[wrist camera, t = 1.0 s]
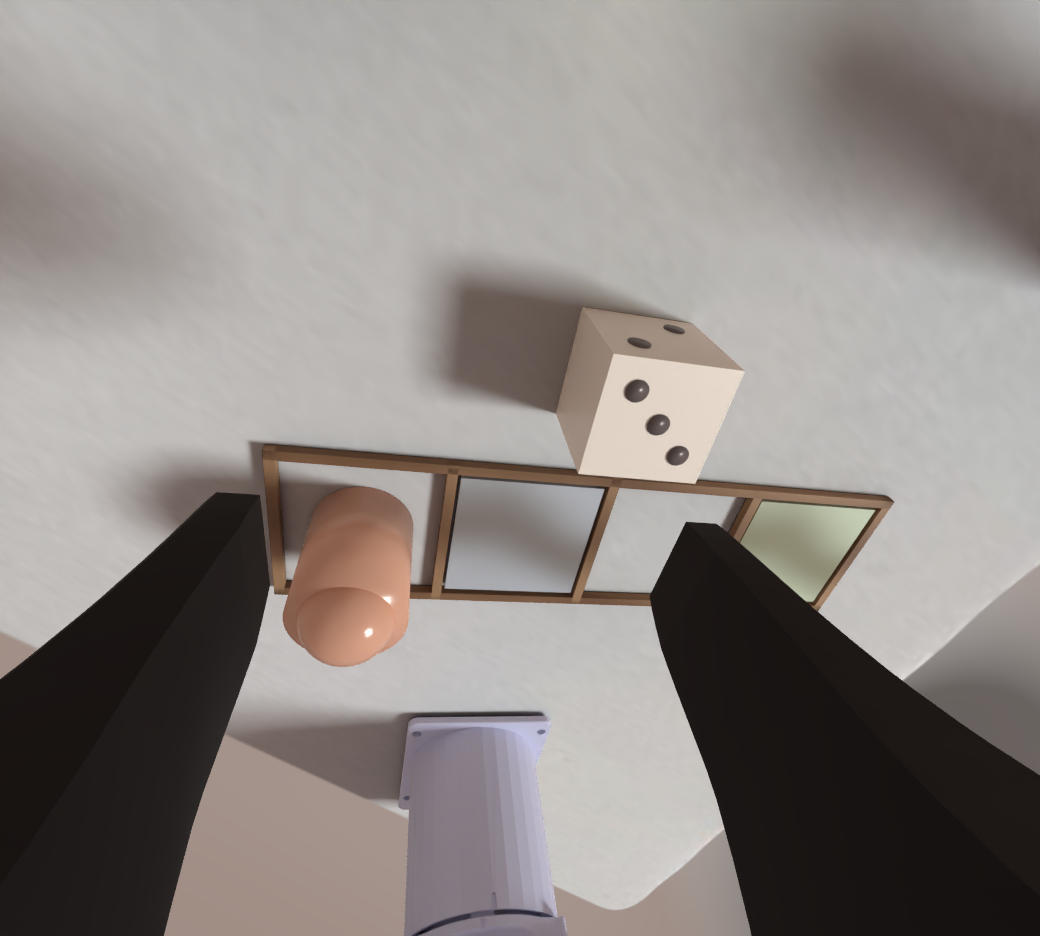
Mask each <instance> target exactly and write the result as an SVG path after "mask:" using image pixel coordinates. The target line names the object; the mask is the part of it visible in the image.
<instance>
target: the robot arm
mask: <svg viewBox="0 0 1040 936" xmlns="http://www.w3.org/2000/svg"><path fill="white" fill-rule="evenodd" d="M269 587H270V581H269V572H268V563H267V555H266V546H265V537H264V528H263V519H262V510H261V501H260V495H251V494H235V493H219V492H217V493H215V494H214V495H213V496H211V497H210V498H209V499H208V500H207V501H206V502H205V503H203V504H202V505H201V506H200V507H199V508H198V509H197V510H196V511H195V512H194V513H193V514H192V515H191V516H190V517H189V518H188V519H187V520H186V521H185V522H184V523H183V524H181V525H180V526H179V527H178V528H177V529H176V530H175V531H174V532H173V533H172V534H171V535H170V536H169V537H168V538H167V539H166V540H165V541H163V542H162V543H161V544H160V545H159V546H158V547H157V548H156V549H155V550H154V551H153V552H152V553H151V554H149V555H148V556H147V557H146V558H145V559H144V560H143V561H142V562H141V563H140V564H138V565H137V566H136V567H135V568H134V569H133V570H132V571H131V572H129V573H128V574H127V575H126V576H125V577H124V578H123V579H121V580H120V581H119V582H118V583H117V584H116V585H115V586H114V587H112V588H111V589H110V590H109V591H108V592H107V593H106V594H105V595H103V596H102V597H101V598H100V599H99V600H98V601H97V602H95V603H94V604H93V605H92V606H91V607H89V608H88V609H87V610H86V611H85V612H83V613H82V614H81V615H80V616H79V617H77V618H76V619H75V620H74V621H72V622H71V623H70V624H69V625H68V626H66V627H65V628H64V629H63V630H61V631H60V632H59V633H58V634H56V635H55V636H54V637H53V638H52V639H50V640H49V641H48V642H47V643H45V644H44V645H43V646H42V647H41V648H39V649H38V650H37V651H36V652H34V653H33V654H32V655H31V656H29V658H27V659H26V660H24V661H23V662H22V663H21V664H19V665H18V666H17V667H16V668H14V669H13V670H12V671H10V672H9V673H8V674H6V675H5V676H4V677H3V678H1V679H0V936H164V933H165V929H166V925H167V920H168V917H169V913H170V908H171V905H172V901H173V897H174V893H175V890H176V886H177V882H178V878H179V874H180V871H181V866H182V863H183V859H184V856H185V852H186V848H187V844H188V840H189V837H190V833H191V829H192V826H193V822H194V819H195V816H196V813H197V810H198V807H199V803H200V800H201V797H202V794H203V791H204V788H205V785H206V783H207V780H208V777H209V775H210V772H211V769H212V766H213V764H214V761H215V758H216V755H217V752H218V750H219V747H220V744H221V741H222V739H223V736H224V733H225V731H226V728H227V725H228V722H229V720H230V717H231V714H232V711H233V709H234V706H235V703H236V700H237V698H238V695H239V692H240V689H241V686H242V684H243V681H244V678H245V675H246V672H247V670H248V667H249V664H250V661H251V658H252V655H253V653H254V650H255V647H256V643H257V639H258V635H259V631H260V627H261V623H262V618H263V614H264V610H265V605H266V600H267V596H268V591H269ZM650 602H651V607H652V612H653V616H654V621H655V626H656V630H657V633H658V637H659V641H660V645H661V649H662V652H663V655H664V658H665V661H666V663H667V666H668V669H669V671H670V674H671V677H672V680H673V682H674V685H675V688H676V690H677V693H678V696H679V698H680V701H681V704H682V706H683V709H684V711H685V714H686V717H687V719H688V722H689V725H690V727H691V730H692V733H693V735H694V738H695V740H696V743H697V746H698V748H699V751H700V754H701V756H702V759H703V762H704V764H705V767H706V769H707V772H708V775H709V778H710V781H711V784H712V787H713V790H714V793H715V796H716V799H717V803H718V806H719V810H720V814H721V817H722V821H723V825H724V828H725V832H726V835H727V839H728V843H729V846H730V850H731V854H732V857H733V861H734V865H735V869H736V873H737V877H738V881H739V885H740V889H741V893H742V897H743V901H744V905H745V910H746V914H747V918H748V921H749V925H750V930H751V935H752V936H1040V775H1038V774H1036V773H1035V772H1034V771H1032V770H1031V769H1029V768H1027V767H1026V766H1024V765H1022V764H1021V763H1020V762H1018V761H1017V760H1015V759H1013V758H1012V757H1010V756H1009V755H1007V754H1006V753H1004V752H1003V751H1001V750H1000V749H998V748H996V747H995V746H993V745H992V744H990V743H989V742H987V741H986V740H984V739H983V738H982V737H980V736H978V735H977V734H976V733H974V732H973V731H971V730H970V729H968V728H967V727H965V726H964V725H962V724H961V723H959V722H958V721H957V720H955V719H954V718H953V717H951V716H950V715H948V714H947V713H946V712H944V711H943V710H942V709H940V708H939V707H937V706H936V705H935V704H933V703H932V702H930V701H929V700H928V699H926V698H925V697H924V696H922V695H921V694H919V693H918V692H917V691H915V690H914V689H912V688H911V687H909V685H907V684H906V683H905V682H903V681H902V680H901V679H899V678H898V677H897V676H895V675H894V674H893V673H891V672H890V671H889V670H888V669H886V668H885V667H884V666H883V665H881V664H880V663H879V662H878V661H876V660H875V659H874V658H873V657H872V656H870V655H869V654H868V653H867V652H865V651H864V650H863V649H862V648H860V647H859V646H858V645H857V644H855V643H854V642H853V641H852V640H850V639H849V638H848V637H847V636H846V635H844V634H843V633H842V632H841V631H840V630H839V629H837V628H836V627H835V626H834V625H833V624H831V623H830V622H829V621H828V620H827V619H826V618H824V617H823V616H822V615H821V614H820V613H819V612H817V611H816V610H815V609H814V608H813V607H812V606H811V605H809V604H808V603H807V602H806V601H805V600H804V599H803V598H801V597H800V596H799V595H798V594H797V593H796V592H795V591H794V590H792V589H791V588H790V587H789V586H788V585H787V584H786V583H785V582H783V581H782V580H781V579H780V578H779V577H778V576H777V575H776V574H774V573H773V572H772V571H771V570H770V569H769V568H768V567H767V566H766V565H764V564H763V563H762V562H761V561H760V560H759V559H758V558H757V557H755V556H754V555H753V554H752V553H751V552H750V551H749V550H747V549H746V548H745V547H744V546H743V545H742V544H741V543H739V542H738V541H737V540H736V539H735V538H733V537H732V536H731V535H730V534H729V533H727V532H726V531H725V530H724V529H722V528H721V527H720V526H719V525H717V524H711V523H695V522H686V523H685V525H684V527H683V529H682V531H681V533H680V535H679V537H678V540H677V542H676V544H675V546H674V548H673V550H672V552H671V554H670V556H669V558H668V560H667V562H666V564H665V566H664V568H663V570H662V572H661V574H660V576H659V578H658V580H657V582H656V584H655V586H654V588H653V590H652V592H651V594H650ZM550 728H551V720H550V718H549V717H547V716H492V717H418V718H413V719H411V720H410V721H409V723H408V729H407V737H406V745H405V753H404V762H403V770H402V778H401V786H400V794H399V803H398V806H399V808H401V809H409V825H408V850H407V852H408V853H407V877H406V902H405V928H404V936H568V935H567V929H566V922H565V918H564V917H563V916H560V917H558V916H557V909H556V902H555V896H554V888H553V882H552V875H551V868H550V861H549V854H548V847H547V841H546V834H545V827H544V820H543V813H542V806H541V800H540V793H539V786H538V779H537V772H536V765H537V763H538V760H539V757H540V755H541V752H542V749H543V747H544V744H545V741H546V739H547V736H548V733H549V731H550Z"/></svg>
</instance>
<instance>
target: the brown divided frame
mask: <svg viewBox="0 0 1040 936" xmlns="http://www.w3.org/2000/svg"><path fill="white" fill-rule="evenodd" d="M262 457H263V468H264V480H265V491H266V503H267V514H268V525H269V537H270V548H271V559H272V571H273V582H274V593H275V594H282V595H288V594H289V591H290V587H291V584H292V581H286V568H285V554H284V540H283V525H282V511H281V497H280V483H279V468H278V461H285V462H298V463H311V464H324V465H336V466H349V467H362V468H374V469H387V470H400V471H413V472H425V473H438V474H447V475H446V483H445V490H444V498H443V505H442V513H441V520H440V528H439V535H438V543H437V550H436V558H435V565H434V573H433V580H432V586H413V585H410V599H440V600H472V601H504V602H535V603H567V604H599V605H630V606H651V602H650V594H633V593H605V592H583V591H584V588H585V585H586V582H587V579H588V576H589V574H590V571H591V568H592V565H593V562H594V559H595V556H596V553H597V551H598V548H599V545H600V542H601V539H602V536H603V533H604V530H605V528H606V525H607V522H608V519H609V516H610V513H611V510H612V507H613V505H614V502H615V499H616V496H617V493H618V490H619V488H629V489H642V490H655V491H667V492H680V493H693V494H706V495H718V496H731V497H744V498H746V500H745V502H744V504H743V506H742V508H741V510H740V512H739V514H738V516H737V518H736V520H735V522H734V524H733V526H732V528H731V530H730V532H729V534H730V535H731V536H732V537H733V538H735V539H736V540H737V541H738V542H739V543H741V544H742V545H743V546H744V547H745V548H746V549H747V550H749V551H750V552H751V553H752V554H753V555H754V556H755V557H757V558H758V559H759V560H760V561H761V562H762V563H763V564H764V565H766V566H767V567H768V568H769V569H770V570H771V571H772V572H773V573H774V574H776V575H777V576H778V577H779V578H780V579H781V580H782V581H783V582H785V583H786V584H787V585H788V586H789V587H790V588H791V589H792V590H794V591H795V592H796V593H797V594H798V595H799V596H800V597H801V598H803V599H804V600H805V601H806V602H807V603H808V604H809V605H811V606H812V607H813V608H814V609H815V610H816V611H819V609H820V608H821V606H822V605H823V603H824V602H825V601H826V599H827V598H828V596H829V595H830V593H831V592H832V590H833V589H834V588H835V586H836V585H837V583H838V582H839V580H840V579H841V578H842V576H843V575H844V573H845V572H846V570H847V569H848V568H849V566H850V565H851V563H852V562H853V560H854V559H855V558H856V556H857V555H858V553H859V552H860V550H861V549H862V548H863V546H864V545H865V543H866V542H867V540H868V539H869V538H870V536H871V535H872V533H873V532H874V530H875V529H876V528H877V526H878V525H879V523H880V522H881V520H882V519H883V518H884V516H885V515H886V513H887V512H888V510H889V509H890V508H891V506H892V505H893V503H894V501H893V500H892V499H891V498H889V497H888V496H876V495H864V494H852V493H840V492H828V491H816V490H805V489H793V488H781V487H769V486H757V485H745V484H733V483H721V482H709V481H696V483H695V484H692V483H680V482H668V481H656V480H644V479H633V478H621V477H609V476H597V475H585V474H578V472H577V470H567V469H555V468H543V467H531V466H519V465H507V464H495V463H483V462H471V461H459V460H448V459H436V458H424V457H412V456H400V455H388V454H376V453H364V452H352V451H341V450H329V449H317V448H305V447H293V446H281V445H269V444H265V445H264V447H263V449H262ZM458 475H461V478H460V484H459V491H458V498H457V504H456V511H455V518H454V524H453V531H452V537H451V544H450V551H449V557H448V564H447V571H446V577H445V587H442V582H443V575H444V568H445V561H446V554H447V548H448V541H449V534H450V527H451V521H452V514H453V507H454V500H455V493H456V487H457V480H458ZM603 486H604V487H605V490H604V487H603ZM603 492H604V493H603ZM602 495H603V496H602ZM601 498H602V499H601ZM600 501H601V502H600ZM589 535H590V536H589ZM588 538H589V539H588ZM587 541H588V542H587ZM586 544H587V545H586ZM585 547H586V548H585ZM584 550H585V551H584ZM583 553H584V554H583ZM582 556H583V557H582ZM581 559H582V560H581ZM580 562H581V563H580ZM579 565H580V566H579ZM578 568H579V569H578ZM577 571H578V572H577ZM576 574H577V575H576ZM575 577H576V578H575ZM574 580H575V581H574ZM573 583H574V584H573ZM572 586H573V587H572ZM571 589H572V590H571Z"/></svg>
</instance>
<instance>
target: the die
mask: <svg viewBox="0 0 1040 936" xmlns="http://www.w3.org/2000/svg"><path fill="white" fill-rule="evenodd" d="M744 372H745V371H744V370H743V369H742V368H741V367H740V366H739V365H738V364H736V363H735V362H734V361H733V360H732V359H731V358H730V357H729V356H728V355H727V354H725V353H724V352H723V351H722V350H721V349H720V348H719V347H718V346H717V345H716V344H714V343H713V342H712V341H711V340H710V339H709V338H708V337H707V336H706V335H705V334H703V333H702V332H701V331H700V330H699V329H698V328H697V327H696V326H695V325H694V324H692V323H685V322H678V321H672V320H665V319H658V318H651V317H645V316H638V315H631V314H625V313H618V312H611V311H605V310H598V309H591V308H585V307H582V311H581V315H580V319H579V323H578V327H577V331H576V335H575V339H574V343H573V347H572V351H571V355H570V359H569V363H568V367H567V371H566V375H565V379H564V383H563V387H562V391H561V395H560V399H559V403H558V407H557V411H556V415H557V417H558V420H559V423H560V426H561V428H562V431H563V434H564V436H565V439H566V442H567V445H568V447H569V450H570V453H571V455H572V458H573V461H574V464H575V466H576V469H577V472H578V474H585V475H597V476H609V477H621V478H633V479H644V480H656V481H668V482H680V483H692V484H695V483H696V481H697V479H698V476H699V474H700V472H701V470H702V467H703V465H704V463H705V461H706V458H707V456H708V454H709V452H710V449H711V447H712V445H713V442H714V440H715V438H716V436H717V433H718V431H719V429H720V427H721V424H722V422H723V420H724V418H725V415H726V413H727V411H728V408H729V406H730V404H731V402H732V399H733V397H734V395H735V393H736V390H737V388H738V386H739V384H740V381H741V379H742V377H743V374H744Z"/></svg>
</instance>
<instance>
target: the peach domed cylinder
mask: <svg viewBox="0 0 1040 936" xmlns="http://www.w3.org/2000/svg"><path fill="white" fill-rule="evenodd" d="M412 544H413V520H412V517H411V514H410V512H409V510H408V509H407V508H406V506H405V505H404V504H403V503H402V502H401V501H400V500H398V499H397V498H396V497H394V496H393V495H391V494H389V493H387V492H385V491H382V490H379V489H375V488H370V487H349V488H344V489H341V490H337V491H335V492H333V493H331V494H329V495H327V496H326V497H325V498H323V499H322V500H321V501H320V502H319V503H318V504H317V506H316V507H315V509H314V511H313V513H312V516H311V520H310V523H309V526H308V530H307V533H306V537H305V540H304V543H303V547H302V550H301V553H300V557H299V560H298V564H297V567H296V570H295V574H294V577H293V580H292V584H291V587H290V591H289V594H288V597H287V601H286V604H285V607H284V611H283V623H284V627H285V629H286V631H287V633H288V634H289V636H290V637H291V638H292V639H293V640H294V641H295V642H296V643H297V644H299V645H300V646H302V647H303V648H305V649H306V650H307V652H308V653H309V654H310V655H311V656H313V657H314V658H315V659H317V660H318V661H320V662H322V663H324V664H327V665H331V666H336V667H349V666H354V665H358V664H361V663H363V662H366V661H368V660H369V659H371V658H372V657H374V656H375V655H376V654H378V653H381V652H383V651H385V650H387V649H389V648H390V647H392V646H393V645H395V644H396V643H397V642H398V641H399V640H400V639H401V638H402V636H403V635H404V633H405V631H406V629H407V626H408V618H409V599H410V581H411V562H412Z"/></svg>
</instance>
